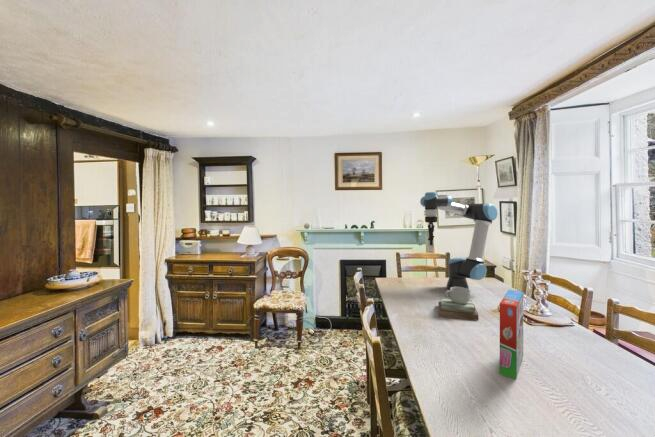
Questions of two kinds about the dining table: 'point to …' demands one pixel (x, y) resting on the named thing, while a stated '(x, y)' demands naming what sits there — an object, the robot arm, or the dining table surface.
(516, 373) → the game box
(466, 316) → the block stand
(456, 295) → the teacup
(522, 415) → the dining table surface
